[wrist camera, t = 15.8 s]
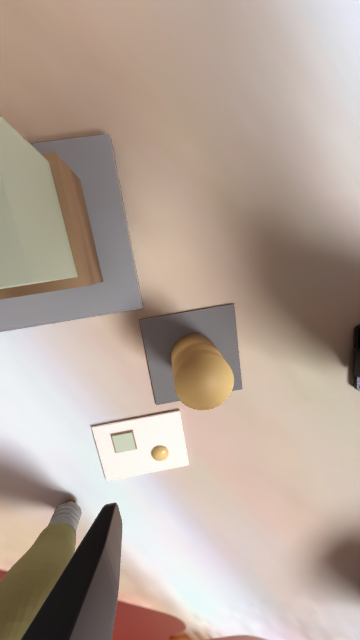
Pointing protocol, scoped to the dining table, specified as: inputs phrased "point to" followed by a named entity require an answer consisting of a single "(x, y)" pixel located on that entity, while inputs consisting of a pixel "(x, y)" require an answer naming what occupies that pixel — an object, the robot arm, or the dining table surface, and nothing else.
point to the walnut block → (68, 234)
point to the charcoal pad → (174, 326)
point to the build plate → (109, 236)
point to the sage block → (29, 216)
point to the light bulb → (37, 572)
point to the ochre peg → (200, 372)
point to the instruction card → (141, 445)
